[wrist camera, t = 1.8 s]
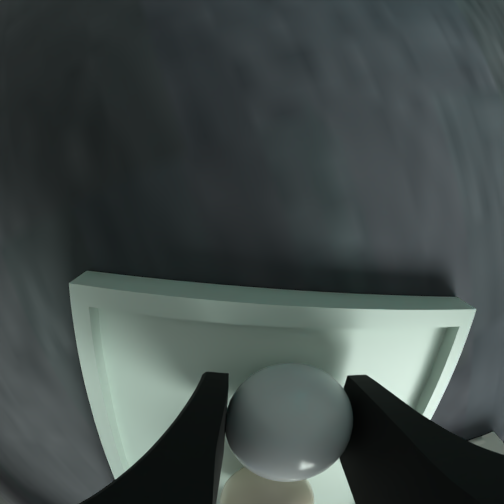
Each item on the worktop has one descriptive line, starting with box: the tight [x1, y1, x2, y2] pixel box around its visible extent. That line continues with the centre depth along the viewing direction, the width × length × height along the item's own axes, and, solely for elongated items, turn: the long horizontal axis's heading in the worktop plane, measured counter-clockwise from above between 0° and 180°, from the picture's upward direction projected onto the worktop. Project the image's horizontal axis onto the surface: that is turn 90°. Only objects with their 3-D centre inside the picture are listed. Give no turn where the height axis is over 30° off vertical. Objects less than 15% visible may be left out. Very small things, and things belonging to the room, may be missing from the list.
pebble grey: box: [225, 363, 353, 482], centre depth 7 cm, size 3×3×3 cm
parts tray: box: [69, 271, 476, 504], centre depth 10 cm, size 12×15×1 cm
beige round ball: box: [220, 467, 314, 504], centre depth 8 cm, size 3×3×3 cm
